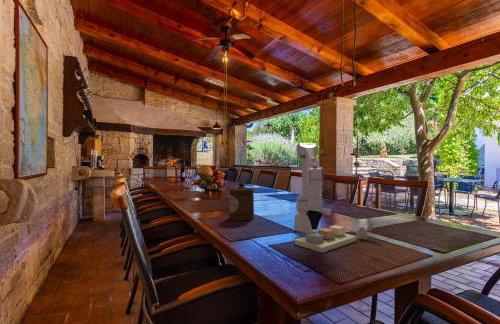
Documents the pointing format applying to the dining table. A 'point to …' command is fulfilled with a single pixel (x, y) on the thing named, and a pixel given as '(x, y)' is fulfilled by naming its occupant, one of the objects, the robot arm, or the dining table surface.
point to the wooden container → (241, 203)
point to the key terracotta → (326, 233)
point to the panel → (327, 242)
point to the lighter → (364, 231)
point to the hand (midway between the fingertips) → (314, 229)
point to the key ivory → (338, 229)
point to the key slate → (314, 238)
